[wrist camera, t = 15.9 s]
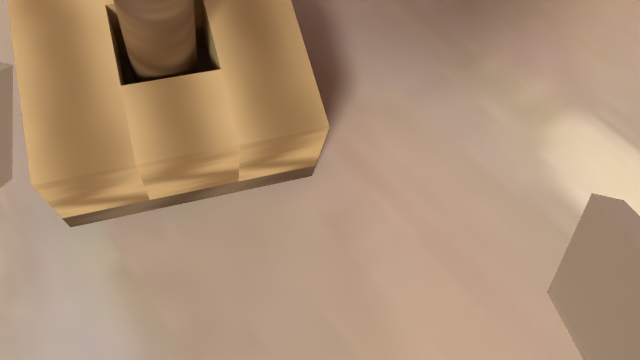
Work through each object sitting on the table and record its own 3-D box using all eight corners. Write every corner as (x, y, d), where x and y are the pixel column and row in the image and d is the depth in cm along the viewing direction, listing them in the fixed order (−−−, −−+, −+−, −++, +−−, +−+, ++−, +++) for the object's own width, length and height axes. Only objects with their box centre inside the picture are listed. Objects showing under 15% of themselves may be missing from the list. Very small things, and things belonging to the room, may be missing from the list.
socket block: (260, -3, 46) (266, -81, 38) (311, 175, 41) (329, 126, 34) (40, 28, 42) (-1, -51, 35) (70, 227, 38) (31, 185, 30)
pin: (191, 56, 41) (181, -71, 30) (204, 107, 40) (199, -4, 28) (132, 65, 40) (98, -62, 29) (143, 118, 39) (113, 8, 27)
